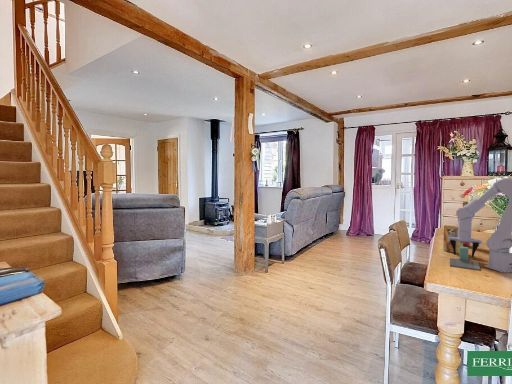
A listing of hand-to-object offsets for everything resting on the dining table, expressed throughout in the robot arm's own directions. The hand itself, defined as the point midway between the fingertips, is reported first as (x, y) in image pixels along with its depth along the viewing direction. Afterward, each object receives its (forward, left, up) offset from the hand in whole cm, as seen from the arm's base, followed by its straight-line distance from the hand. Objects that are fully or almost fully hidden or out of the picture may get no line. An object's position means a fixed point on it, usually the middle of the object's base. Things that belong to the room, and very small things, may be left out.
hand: (463, 255), depth 152 cm
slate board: (-7, +7, -2) cm, 10 cm away
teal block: (0, 0, -2) cm, 2 cm away
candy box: (+14, -7, -2) cm, 16 cm away
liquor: (+24, -25, -2) cm, 35 cm away
